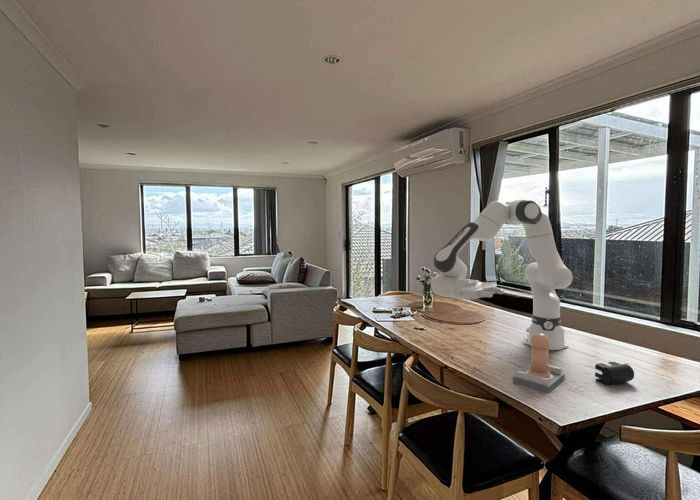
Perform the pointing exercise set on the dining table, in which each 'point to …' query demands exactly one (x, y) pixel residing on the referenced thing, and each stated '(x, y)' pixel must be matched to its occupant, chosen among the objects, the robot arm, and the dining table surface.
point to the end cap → (614, 373)
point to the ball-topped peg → (539, 355)
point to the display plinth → (538, 386)
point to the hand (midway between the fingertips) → (497, 293)
